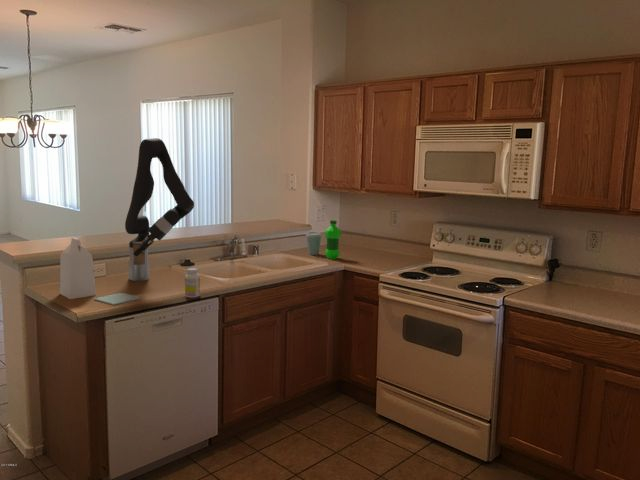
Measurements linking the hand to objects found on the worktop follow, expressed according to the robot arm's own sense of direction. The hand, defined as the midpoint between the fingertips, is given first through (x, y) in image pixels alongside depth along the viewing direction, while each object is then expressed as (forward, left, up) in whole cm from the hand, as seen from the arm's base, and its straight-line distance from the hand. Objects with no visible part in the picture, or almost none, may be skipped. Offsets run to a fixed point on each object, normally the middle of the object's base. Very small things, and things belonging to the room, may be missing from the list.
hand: (134, 253), depth 252 cm
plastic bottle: (+24, +136, -18) cm, 139 cm away
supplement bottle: (+27, +11, -18) cm, 34 cm away
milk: (-15, -20, -18) cm, 31 cm away
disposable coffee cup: (+6, +140, -18) cm, 141 cm away
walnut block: (+1, +1, -5) cm, 5 cm away
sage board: (+6, -14, -18) cm, 24 cm away
